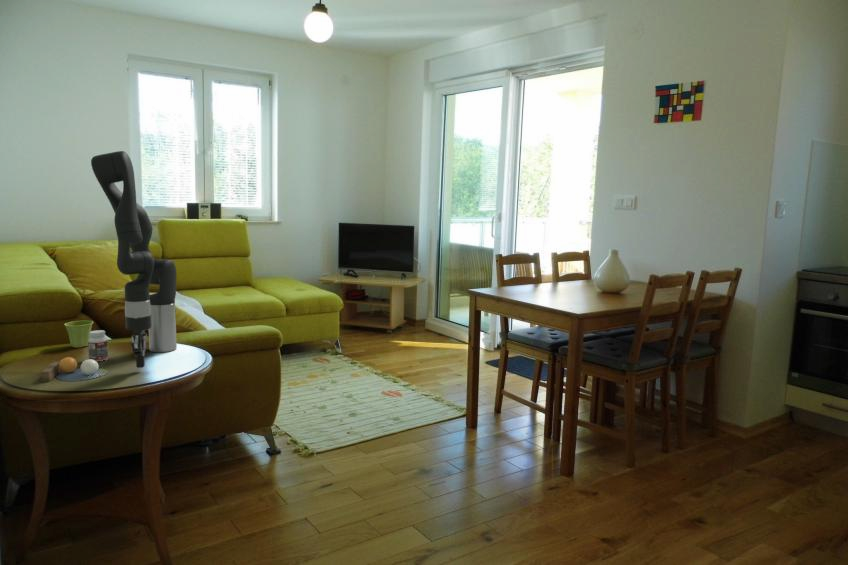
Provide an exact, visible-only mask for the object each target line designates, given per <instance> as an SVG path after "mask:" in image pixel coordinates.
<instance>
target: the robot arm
mask: <svg viewBox="0 0 848 565" xmlns="http://www.w3.org/2000/svg"><path fill="white" fill-rule="evenodd" d="M90 165H91V169H92V172H93V174H94V177H95V178H96V180H97V181H98V184H99V185H100V187H101V189H102V190H103V193H104V195H105V196H106V198H107V200H108V201H109V204H110V205H111V207H112V209H113V212H114V218H113V219H114V226H115V227H114V228H115V232H116V236H117V242H118V243H117V258H116V266H117V269H118V271H119V273H121V274H123V275H125V276H130V275H137V277H136V278H135V279H134V280H131V281H128V282H127V283H125V285H124V300H125V303H124V317H125V318H124V319H125V329H126V330H127V331H131V332H133V334H132V335H131V337H130V338H131V342H132V343H131V344H130V345H131V348H132V352H133V356H134V357H135V363H136V364H135V365H136V366H135V367H136V368H137V369H139V368H144V367H145V354H146V350H147V349H146V348H147V338H148V347H149V348H148V349H149V351H150V352H152V353H166V352H172V351H175V350H176V349H178V348H177V325H176V323H177V321H176V295H177V266H176V265H175V264H176V263H175V262H174V261H173V260H172V259H165V258H154V257H153V255H152V252H151V251H150V242H151V239H152V236H153V225H152V222H151V220H150V218H149V215H148V212H147V211H146V210H145V209H144V208H143V206H142V205H140V204H139V203H137V192H136V191H137V190H136V189H137V188H136V180H135V178H136V177H135V172H134V166H133V162H132V160H131V158H130V156H129V154H128V153H127V152H126V151H123V150H120V151H119V150H118V151H114V152H109V153H104V154H103V153H102V154H98V155H94V156H93V157H92V158H91V160H90ZM119 182H122V184H123V185H122V186H123V187H122V188H123V190H122V191H121V190H120V189H119V188H118V187H117V185H116V183H119ZM150 285H155V286H156V285H157V286H158V287H159V288H158V291H157V292H155V293H151V294H150ZM147 330H148V334H147V333H146V332H145V331H147Z"/></svg>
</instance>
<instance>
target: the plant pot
mask: <svg viewBox="0 0 848 565" xmlns="http://www.w3.org/2000/svg"><path fill="white" fill-rule="evenodd" d="M93 324H94V321H93V320H75V321H70V322H66V323H64V327H65V328H66V331H67V334H68V339H69V342H70V346H71V347H72V348H76V349H77V348H79V349H80V348H83V347H89V345H88V340H89V339H90V338H91V336H90V332H91V331H92V327H93Z"/></svg>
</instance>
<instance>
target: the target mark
mask: <svg viewBox="0 0 848 565" xmlns="http://www.w3.org/2000/svg"><path fill="white" fill-rule="evenodd" d="M99 368H100V367H99ZM99 368H98V371H99ZM98 371H97V372H96V373H95V374H93V375H91V376H90V375H85V374H83V373H82V371H81V369H80V368H76V370H75V371H73V372H71V373H64V372H62V371H61V372H59V373H58V374H57V375H56V376H55V378H56V380H58V381H63V382H80V380H83V381H88V380H87V379H90V380H93V379H92V378H94V379H97V378H96V377H98V378H100V377H99V374H100V375H101V373H102V371H99V374H98ZM100 372H101V373H100ZM104 374H105V373H104ZM104 374H102V375H103V376H105V375H106V374H108V370H107V371H106V374H105V375H104ZM95 375H96V376H95ZM102 375H101V377H103V376H102ZM88 376H89V377H88Z"/></svg>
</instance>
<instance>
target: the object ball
mask: <svg viewBox="0 0 848 565" xmlns="http://www.w3.org/2000/svg"><path fill="white" fill-rule="evenodd" d="M59 368H60V370H61V371H60V372H61V373H62V372H64V373H71V372H73V371H75V370H76V369H78V362H77V360H76V359H75V358H74V357H72V356H71V357H70V356H67V357H66V356H65V357H63V359H61V360H60V363H59Z"/></svg>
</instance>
